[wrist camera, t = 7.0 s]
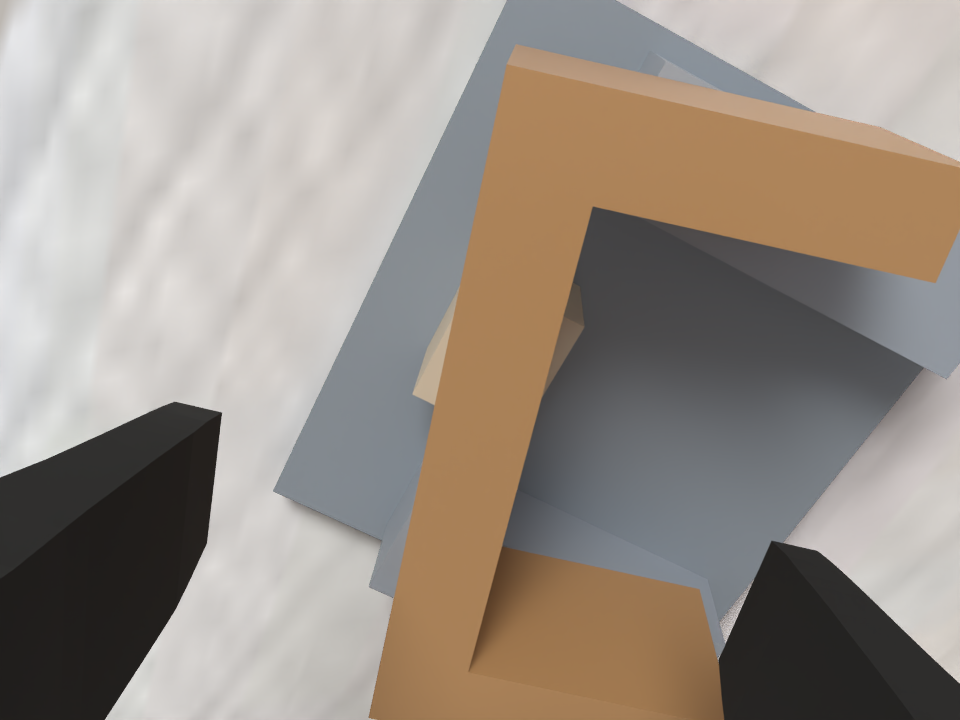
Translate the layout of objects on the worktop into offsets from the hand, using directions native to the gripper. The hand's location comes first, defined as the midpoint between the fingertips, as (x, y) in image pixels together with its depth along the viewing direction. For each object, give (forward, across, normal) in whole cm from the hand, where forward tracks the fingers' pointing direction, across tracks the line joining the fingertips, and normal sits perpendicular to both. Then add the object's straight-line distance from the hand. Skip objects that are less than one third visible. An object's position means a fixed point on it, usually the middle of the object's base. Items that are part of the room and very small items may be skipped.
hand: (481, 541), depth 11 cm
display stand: (+10, -3, +1) cm, 11 cm away
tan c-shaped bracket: (+7, -2, 0) cm, 7 cm away
